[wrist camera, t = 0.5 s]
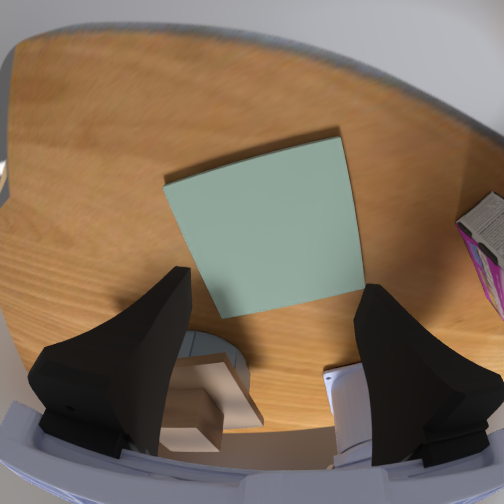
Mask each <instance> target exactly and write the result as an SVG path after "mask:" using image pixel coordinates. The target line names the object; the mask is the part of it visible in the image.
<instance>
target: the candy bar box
mask: <svg viewBox="0 0 504 504" xmlns="http://www.w3.org/2000/svg"><path fill="white" fill-rule="evenodd" d="M456 225H457V228H458V230H459V232H460V234H461V236H462V238H463V240H464V242H465V245H466V247H467V249H468V251H469V254H470V256H471V258H472V261H473V263H474V265H475V268H476V270H477V273H478V276H479V278H480V281H481V283H482V286H483V289H484V292H485V295H486V297H487V299H488V300H489V301H490V302H491V304H492V305H493V307H494V308H495V309H496V311H497V312H498V314H499V315H500V317H501V318H502V319H503V321H504V198H503V197H502V196H500V195H499V194H497V193H496V192H494V191H491V192H490V193H489V194H487V195H486V196H485V197H484V198H482V199H481V201H480V202H479V203H478V204H476V205H475V206H474V207H473V208H472V209H471V210H469V211H468V212H467V213H466V214H464V215H463V216H462V217H461V218H460V219H458V220H457V221H456Z"/></svg>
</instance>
